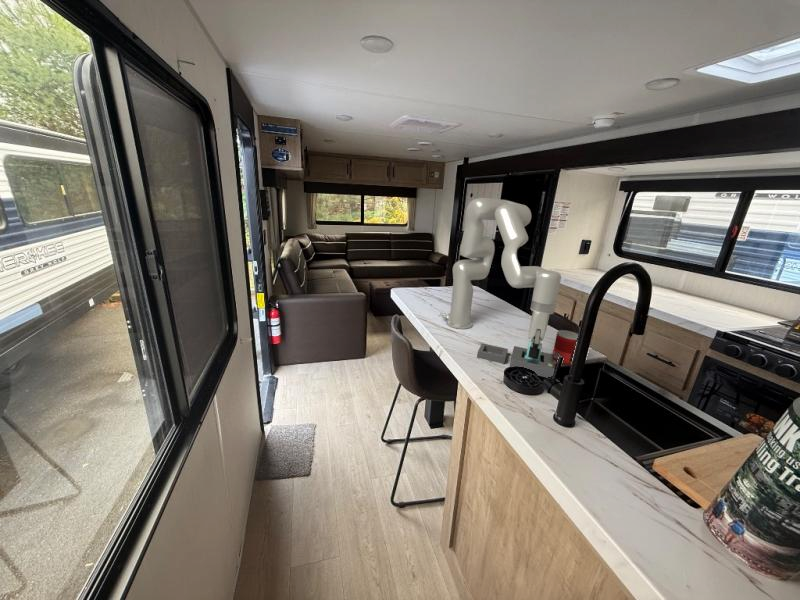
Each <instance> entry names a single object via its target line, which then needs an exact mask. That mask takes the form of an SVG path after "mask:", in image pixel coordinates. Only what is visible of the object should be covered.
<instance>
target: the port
mask: <svg viewBox="0 0 800 600" xmlns="http://www.w3.org/2000/svg"><path fill="white" fill-rule="evenodd" d="M527 349H528V348H527V347H526V348H525V347H522V346H521V347H520V346H516V345H513V349H512V353H511V356H510V360H509V361H510V362H509V367H514V366H519V367H524V368H527V369H530V370H532V371H534V372H535V373H536V374H537V375H536V376H539V377H543V378H545V379H546V378H547V379H549V378H548V377H551V376H554V374H555V368H556V367H555V366H556V365H555V360H554V354H553V353H548V352H545V351H541V355H540V358H541V362H540V361H535V360H531V359H527V358H524V357H525V355H526V354H527Z"/></svg>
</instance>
